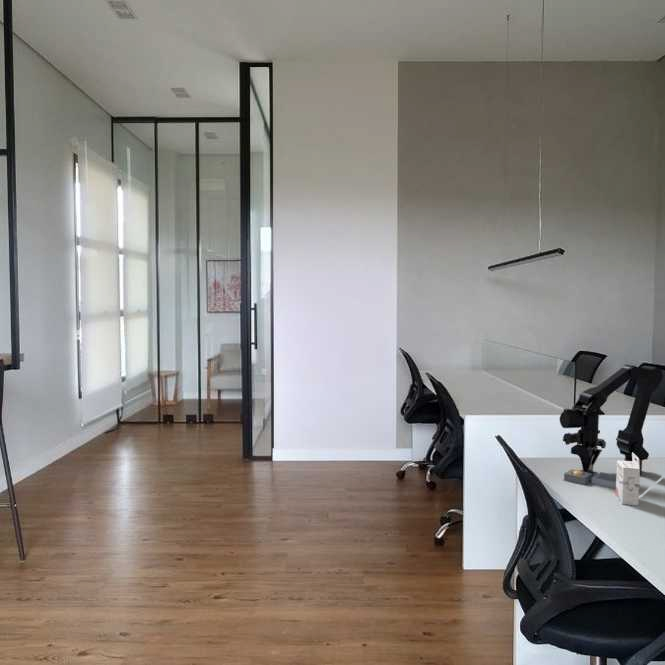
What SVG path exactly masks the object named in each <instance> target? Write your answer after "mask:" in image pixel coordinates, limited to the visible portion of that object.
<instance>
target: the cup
mask: <svg viewBox="0 0 665 665" xmlns="http://www.w3.org/2000/svg"><path fill="white" fill-rule="evenodd" d="M616 476H617V474H612V473H607V472H603V471H600V472H598V474H597V475H595V476H594V477H592V478H591V485H592V484H593V485H597V486H601V487H606V488H609V489H610V488H611V489H614V490H616Z"/></svg>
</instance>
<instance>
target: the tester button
mask: <svg viewBox="0 0 665 665" xmlns="http://www.w3.org/2000/svg"><path fill="white" fill-rule="evenodd" d="M574 474H576V475H581V476H582V475H583V472H581V471H579V470H578V471H574Z"/></svg>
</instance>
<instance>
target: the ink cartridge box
mask: <svg viewBox="0 0 665 665" xmlns="http://www.w3.org/2000/svg"><path fill="white" fill-rule="evenodd" d="M635 458H636V460H637V462H636V461H635ZM616 475H617V476H616V489H615V496H616V497H617V498H618V501H619V502H620V503H621V505H627V506H639V501H640V500H639V498H640V477H641V476H640V464H639V458H638V457H637V456H636V455H635V454H634V453H633V452H632V461H625V460H616Z"/></svg>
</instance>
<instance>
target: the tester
mask: <svg viewBox="0 0 665 665" xmlns="http://www.w3.org/2000/svg"><path fill="white" fill-rule="evenodd" d="M574 471H581V472H583V471H582V469H580V470H577V469H570V470H568V471H567V472H565V473H563V481H565V482H570V483H574V484H579V485H583V486H588V485H589V484H590V483H591V478H592V477H594V476H595V475H597V474H598V473H599V472H598V471H594V470H593V474H592V473H588V472H583V475H582V476H581V475H576V474H574Z"/></svg>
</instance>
